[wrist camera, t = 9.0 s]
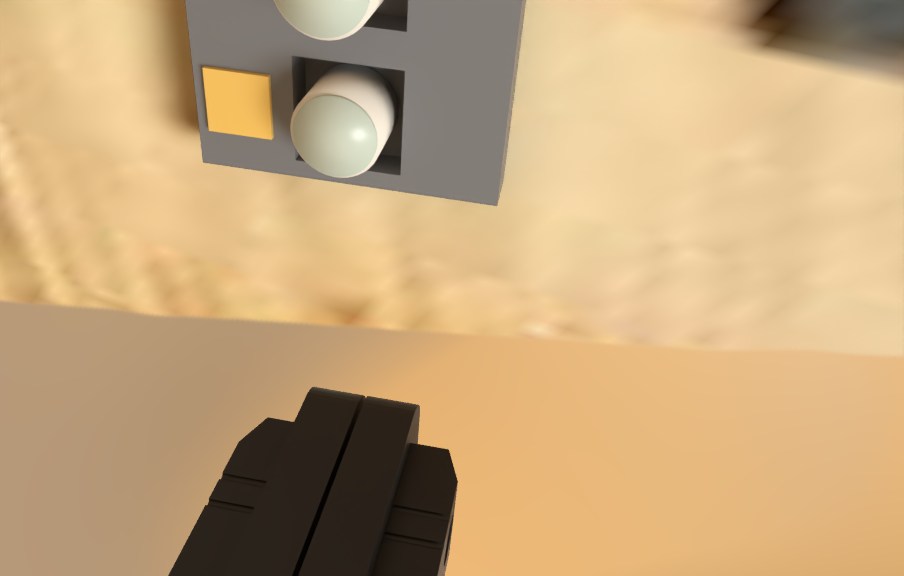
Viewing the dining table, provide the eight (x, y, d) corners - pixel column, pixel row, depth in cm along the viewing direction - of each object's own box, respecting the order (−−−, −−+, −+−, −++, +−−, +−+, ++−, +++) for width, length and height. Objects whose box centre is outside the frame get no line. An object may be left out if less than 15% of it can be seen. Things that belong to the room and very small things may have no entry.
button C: (399, 69, 44) (381, 99, 40) (396, 152, 47) (378, 186, 43) (312, 58, 44) (286, 86, 41) (313, 140, 47) (290, 173, 44)
